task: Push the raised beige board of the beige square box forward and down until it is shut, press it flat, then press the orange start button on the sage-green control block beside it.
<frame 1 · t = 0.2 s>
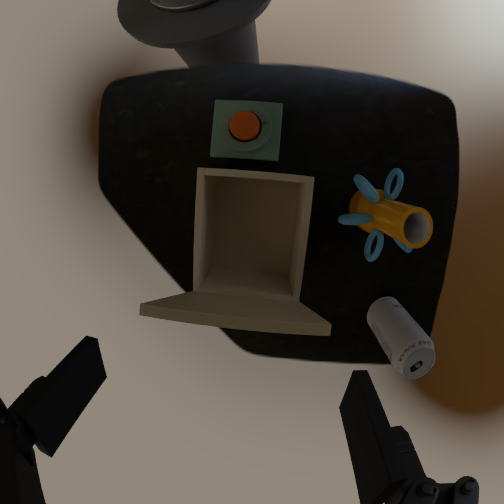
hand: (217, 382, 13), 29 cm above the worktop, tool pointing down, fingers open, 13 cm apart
start button: (244, 125, 32), point 4 cm above the worktop, slide at 0.1 cm
beige board: (240, 307, 25), point 16 cm above the worktop, hinge at 70.0°
control block: (247, 130, 36), on the worktop
energy drink can: (381, 310, 42), on the worktop
beige square box: (254, 224, 40), on the worktop
cylinder: (366, 208, 38), on the worktop
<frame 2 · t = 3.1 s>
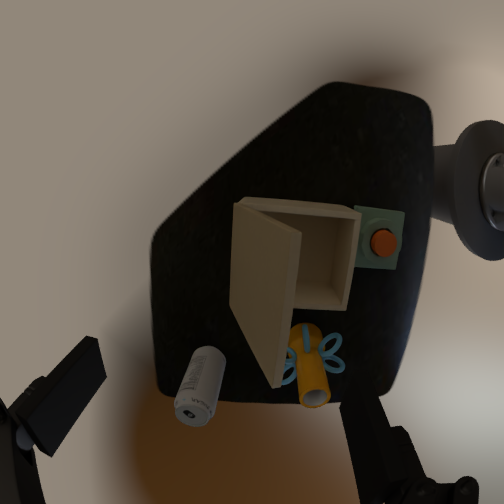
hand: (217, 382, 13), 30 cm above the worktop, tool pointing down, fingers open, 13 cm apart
start button: (383, 243, 37), point 4 cm above the worktop, slide at 0.1 cm
beige board: (253, 281, 26), point 16 cm above the worktop, hinge at 70.0°
control block: (374, 237, 41), on the worktop
energy drink can: (210, 356, 48), on the worktop
beige square box: (291, 242, 42), on the worktop
cylinder: (303, 336, 46), on the worktop
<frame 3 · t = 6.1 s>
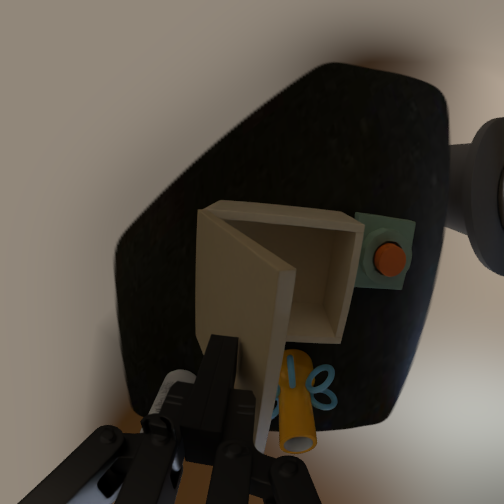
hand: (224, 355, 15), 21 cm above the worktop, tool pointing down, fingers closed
start button: (390, 259, 30), point 4 cm above the worktop, slide at 0.1 cm
beige board: (222, 318, 19), point 16 cm above the worktop, hinge at 65.2°
control block: (378, 250, 34), on the worktop
energy drink can: (185, 380, 41), on the worktop
beige square box: (276, 256, 34), on the worktop
cylinder: (290, 363, 39), on the worktop
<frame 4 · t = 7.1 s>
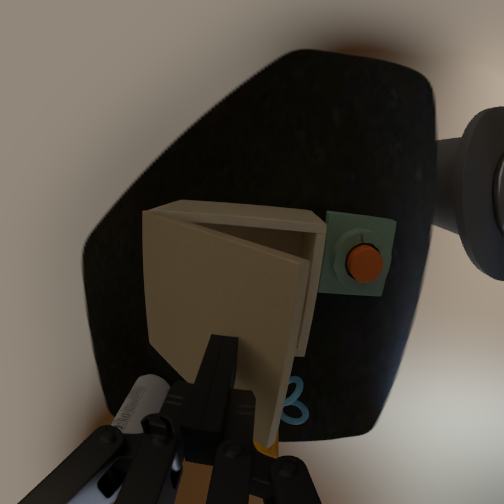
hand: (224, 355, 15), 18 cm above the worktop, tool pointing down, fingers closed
start button: (364, 263, 27), point 4 cm above the worktop, slide at 0.1 cm
beige board: (196, 320, 18), point 14 cm above the worktop, hinge at 41.9°, touching gripper
control block: (354, 253, 31), on the worktop
energy drink can: (156, 385, 39), on the worktop
beige square box: (240, 259, 32), on the worktop
cylinder: (262, 371, 37), on the worktop
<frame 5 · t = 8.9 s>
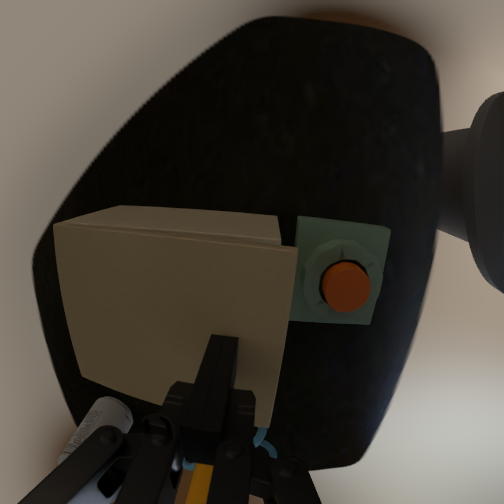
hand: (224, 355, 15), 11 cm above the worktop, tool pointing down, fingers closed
start button: (346, 286, 21), point 4 cm above the worktop, slide at 0.1 cm
beige board: (155, 334, 16), point 10 cm above the worktop, hinge at 5.0°, touching gripper
control block: (335, 270, 25), on the worktop
energy drink can: (117, 407, 32), on the worktop
beige square box: (190, 277, 26), on the worktop
cylinder: (227, 403, 30), on the worktop
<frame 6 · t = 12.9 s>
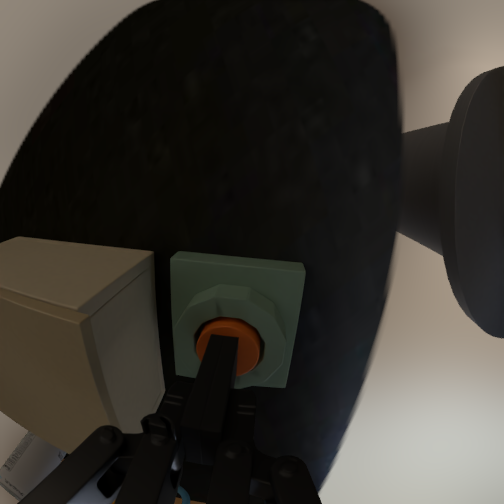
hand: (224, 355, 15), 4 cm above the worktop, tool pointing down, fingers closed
start button: (229, 345, 16), point 3 cm above the worktop, slide at -0.7 cm, touching gripper
beige board: (17, 379, 11), point 9 cm above the worktop, hinge at 0.5°
control block: (235, 319, 19), on the worktop
energy drink can: (58, 427, 27), on the worktop
beige square box: (82, 315, 20), on the worktop
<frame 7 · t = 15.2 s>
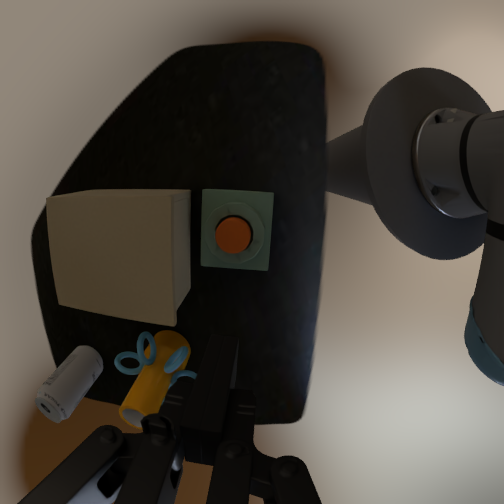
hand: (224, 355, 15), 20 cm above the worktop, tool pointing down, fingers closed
start button: (233, 235, 30), point 4 cm above the worktop, slide at 0.1 cm
beige board: (103, 258, 26), point 9 cm above the worktop, hinge at 0.5°
control block: (237, 228, 34), on the worktop
energy drink can: (91, 356, 41), on the worktop
beige square box: (137, 237, 35), on the worktop
cylinder: (171, 345, 39), on the worktop
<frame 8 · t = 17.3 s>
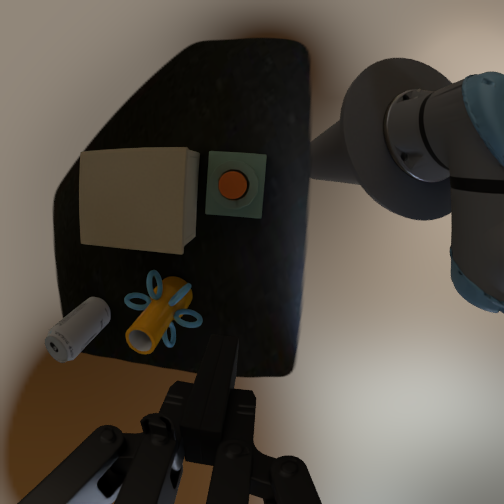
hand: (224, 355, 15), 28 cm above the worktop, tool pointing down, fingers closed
start button: (233, 184, 36), point 4 cm above the worktop, slide at 0.1 cm
beige board: (126, 198, 32), point 9 cm above the worktop, hinge at 0.5°
control block: (236, 184, 40), on the worktop
energy drink can: (100, 308, 48), on the worktop
beige square box: (152, 193, 41), on the worktop
cylinder: (175, 291, 45), on the worktop
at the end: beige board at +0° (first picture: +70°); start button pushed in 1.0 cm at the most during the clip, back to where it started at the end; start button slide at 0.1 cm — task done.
